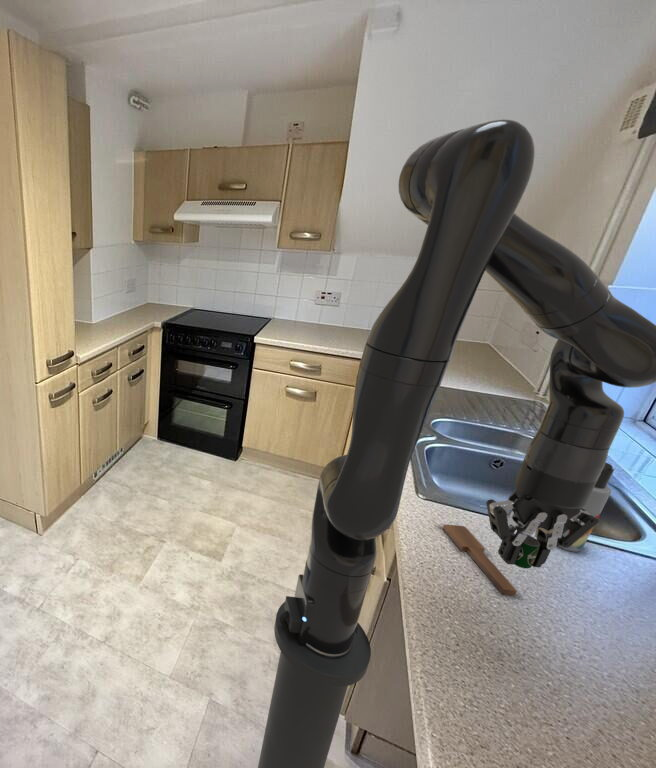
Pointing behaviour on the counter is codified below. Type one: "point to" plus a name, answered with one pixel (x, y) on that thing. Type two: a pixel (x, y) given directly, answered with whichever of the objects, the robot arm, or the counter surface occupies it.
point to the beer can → (527, 552)
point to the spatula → (479, 556)
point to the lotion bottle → (594, 504)
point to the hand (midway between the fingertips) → (518, 561)
